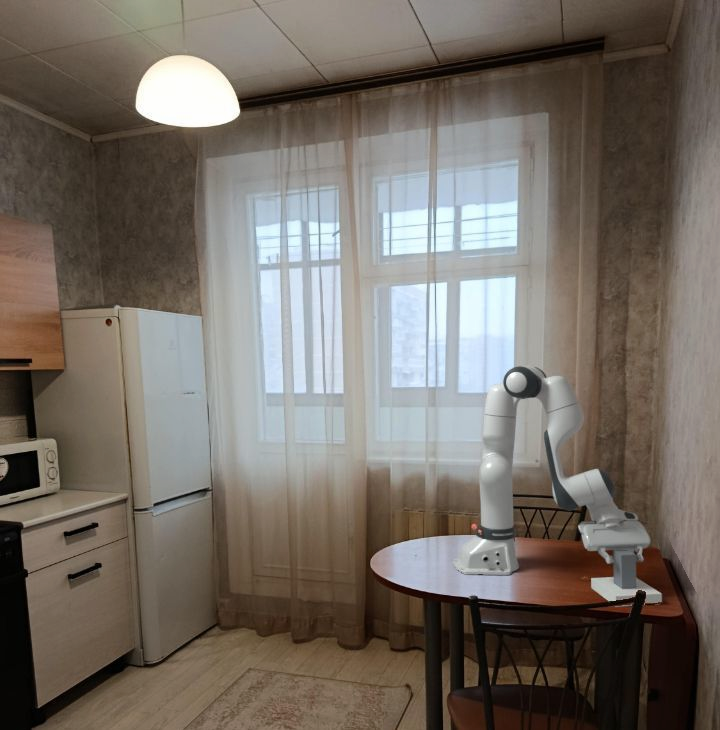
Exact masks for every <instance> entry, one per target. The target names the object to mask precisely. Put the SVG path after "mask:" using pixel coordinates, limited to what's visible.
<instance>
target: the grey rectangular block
mask: <svg viewBox="0 0 720 730" xmlns="http://www.w3.org/2000/svg"><path fill="white" fill-rule="evenodd" d="M636 555H637V554H636V553H635V552H634V553H632V552H630V551H628V550H612V557H613V560H614V562H613V563H612V565H613V569H612V570H613V577H614V584H616V585H617V586H618V587H620V588H621V589H632V588H636V578H637V561H636Z"/></svg>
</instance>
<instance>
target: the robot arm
mask: <svg viewBox="0 0 720 730" xmlns="http://www.w3.org/2000/svg"><path fill="white" fill-rule="evenodd" d="M502 380H503V381H502V382H499V383H494V384H492V385H491V386H489V388H488V390H487V393H486V399H485V402H484V410H483V423H482V437H481V438H482V439H481V442H482V443H481V460H480V461H481V462H480V466H479V469H478V480H479V497H480V524H479V525H477V524H476V523H473V524H472V525H471V529H472V530H473V531H474V532H475V535H474V536H473V537H471V538H470V539H469V540H467V541H466V542H465V543H463V544H462V546H461V548H460V550H459V557H456V558H454V559H453V563H452V564H454V565H453V567H454V566H455V567H456V568H455V567H454V568H455V569H456V570H457V571H458V570H459V571H458V572H459V573H461V572H462V573H461V574H464V575H478V574H483V575H484V576H485V575H488V576H491V575H494V576H510V575H511V574H512V573H513V572H515V571H517V570H519V568H520V563H519V561H518V558H517V552H516V546H515V542H516V530H515V527H516V526H515V525H514V498H513V497H514V496H513V491H514V490H513V489H514V488H513V463H514V450H515V440H516V439H515V438H516V426H517V424H516V423H517V409H518V404H519V402H520V401H521V400H525V399H531V398H532V399H534V398H536V399H538V400H539V401H540V403H541V404H542V407H543V409H544V411H545V414H546V417H547V423H548V425H547V428H546V430H545V431H544V433H543V439H544V441H543V442H544V446H545V452H546V453H545V454H546V457H547V458H546V459H547V462H548V463H547V464H548V468H549V473H550V474H549V475H550V477H551V483H552V484H551V486H552V487H551V489H552V497H553V499H554V502H555V503H556V505H557V507H558V508H560V509H562V510H565V511H568V512H571V511H574V510H576V509H579V508H580V507H583V506H586V508H587V509H588V512H589V516H590V519H591V520H590V521H589V520H588V521H584V520H583V521H581V522H580V523H578V525H577V528H578V531H579V533H580V534H581V539H582V543H583V547H584V548H585V549H586V550H587V551H588V552H598V554H599V555H600V556H601V557H602V558H603V559H604V560H605V562H606V564H613V562H614V560H613V555H609V554H608V553H607V552H606V551H613V550H622V549H634V553H635V552H636V553H637V554H636V563H642V562H643V561H644V556H643V555H642V554H643V550H644V549H648V547H649V546H650V544H651V541H652V539H651V537H650V535H649V534H648V532H647V529H646V528H645V527H644V525H643V524H642V523H641V522H640V521H638V520H639V516H638V515H637V514H636V513H634V512H629V511H625V510H622V509H620V508H619V507H618V506H617V505H616V504H615V502H614V497H615V495H616V491H617V489H616V486H615V485H614V483H613V481H612V480H611V476H610V473H609V472H607V471H606V470H604V469H602V468H594V469H590V470H587V471H584V472H581V473H577V474H574V475H571V476H569V477H568V476H565V475H564V471H563V466H562V461H561V457H560V451H561V448H562V446H563V445H564V444H565V443H566V442H568V440H570V439H571V438H572V437H573V436H574V435H576V433H577V432H579V431H580V430H581V428H582V427H583V425H584V421H585V414H584V411H583V408H582V405H581V404H580V401H579V399H578V396H577V394H576V392H575V391H574V388H573V387H572V385H571V384H570V382H569V381H568V379H567V378H566V377H564V376H562V375H552V376H549V377H547V375H546V373H545V372H544V371H543V370H542V369H541V368H539V367H536V366H531V365H521V366H520V365H519V366H515V367H512V368H510V369H509V370H507V372H506V373H505V374H504V376H503V379H502ZM577 434H578V433H577Z"/></svg>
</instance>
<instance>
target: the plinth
mask: <svg viewBox="0 0 720 730" xmlns="http://www.w3.org/2000/svg"><path fill="white" fill-rule="evenodd" d="M590 580H591V581H590V585H591V586H590V588H591V589H592V590H593V591H594V592H596V593H597V594H599V595H600V596H601V597H603V598H604V599H605V600H607V601H608V602H609V601H616V600H623V599H629V598H632V597H635V595H636V592H637V591H638V590H642V591H645V592H646V599H645V603H658V602H662V603H663V593H661V591H658V590H657V589H655V588H653V587H652V586H650V585H648V584H647V583H645V582H644V581H642V580H641V579H639V578H638V577H636V588H632V589H621V588H620V587H618V586H617V585H616V584H614V576H610V577H609V576H607V577H591V578H590ZM645 603H644V605H643V606H646V605H645ZM615 607H616V608H619V607H633V606H632V604H631V605H622V606H615Z"/></svg>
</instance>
